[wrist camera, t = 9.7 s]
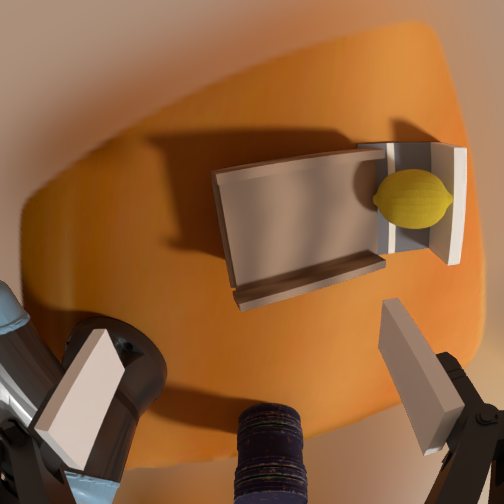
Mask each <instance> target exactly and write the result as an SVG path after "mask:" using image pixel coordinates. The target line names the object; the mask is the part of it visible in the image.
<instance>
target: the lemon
mask: <svg viewBox="0 0 504 504" xmlns="http://www.w3.org/2000/svg"><path fill="white" fill-rule="evenodd" d="M373 202H374V204H375V205H377V207H378V209H379V211H380V213H381V214H382V215H383V217H384V218H385V219H386V220H387V221H389V222H390V223H392V224H394V225H396V226H399V227H403V228H409V229H421V228H426V227H430V226H432V225H434V224H436V223H437V222H438V221H439V220H440V219H441V218H442V217H443V216H444V214H445V212H446V209H447V207H448V206H449V205H450V204H451V203H452V202H453V196H452V195H451V194H450V193H449V192H448V191H447V190H446V188H445V186H444V184H443V182H442V181H441V180H440V179H439V178H438V177H437V176H436V175H434V174H432V173H430V172H428V171H424V170H419V169H407V170H402V171H398V172H395V173H392V174H390V175H389V176H387V177H386V178H385V179H384V180H383V181H382V182H381V184H380V186H379V188H378V190H377V193H376V194H375V195H374V196H373Z"/></svg>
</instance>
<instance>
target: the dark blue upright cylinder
mask: <svg viewBox="0 0 504 504" xmlns="http://www.w3.org/2000/svg"><path fill="white" fill-rule="evenodd" d="M300 423H301V421H300V415H299V414H298V412H297V411H296V410H295V409H293V408H291V407H289V406H286V405H283V404H276V403H266V404H260V405H256V406H253V407H250V408H248V409H247V410H245V411H244V412H243V413H242V414H241V416H240V418H239V428H238V433H237V450H238V466H237V468H236V472H235V480H234V495H235V496H234V504H307V503H308V495H307V486H308V484H307V477H306V473H307V472H306V469H305V466H304V465H303V457H302V449H303V433H302V428H301V424H300Z"/></svg>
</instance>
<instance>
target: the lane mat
mask: <svg viewBox="0 0 504 504" xmlns="http://www.w3.org/2000/svg"><path fill="white" fill-rule="evenodd" d="M367 147H371V148H378V149H385V158H382V159H376V172H377V190H378V188H379V186H380V184H381V182H382V181H383V180H384V179H385V178H386V177H387V176H388V161H387V144H386V143H373V144H357V148H367ZM394 158H395V172H398V171H402V170H407V169H419V170H424V171H428V172H430V173H431V142H400V143H394ZM429 236H430V227H426V228H421V229H409V228H403V227H399V226H396V229H395V252H403V251H410V250H417V249H424V248H429ZM388 242H389V221H387V220H386V219H385V218H384V217H383V215H382V214H381V213H380V211H379V209H378V252H377V253H375V254H377V255H380V254H388Z"/></svg>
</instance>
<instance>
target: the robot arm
mask: <svg viewBox="0 0 504 504" xmlns="http://www.w3.org/2000/svg"><path fill="white" fill-rule="evenodd" d="M30 318H31V317H30V315H29V314H28V313H27V312H26V311H25V310H24V309H23V308H22V306H21V305H20V303H19V302H18V300H17V298H16V297H15V295H14V294H13V292H12V291H11V289H10V288H9V286H8V285H7V284H6V283H5V282H3V281H1V280H0V504H111V503H112V501H113V498H114V495H115V493H116V490H117V488H118V487H119V486H120V481H121V478H122V474H123V471H124V467H125V464H126V460H127V457H128V453H129V450H130V447H131V443H132V440H133V437H134V433H135V430H136V427H137V424H138V421H139V418H140V417H141V416H142V415H143V413H144V412H145V411H146V410H147V409H148V408H149V406H150V405H151V404H152V402H154V401H155V400H156V399H157V398H158V397H159V395H160V394H161V392H162V390H163V387H164V384H165V381H166V378H167V367H166V363H165V360H164V358H163V356H162V354H161V352H160V351H159V350H158V348H157V347H156V346H155V344H154V343H153V342H152V341H151V340H150V339H149V338H147V337H146V336H145V335H144V334H143V333H141V332H140V331H138V330H137V329H135V328H134V327H132V326H130V325H128V324H126V323H124V322H121V321H118V320H115V319H111V318H105V317H93V318H88V319H85V320H83V321H81V322H80V323H79V324H77V325H76V327H75V328H74V329H73V331H72V332H71V334H70V335H69V337H68V338H67V341H66V344H65V354H64V356H63V359H62V363H61V364H60V362H59V361H58V360H57V358H56V357H55V355H54V354H53V353H52V351H51V350H50V348H49V347H48V346H47V344H46V343H45V341H44V340H43V338H42V337H41V335H40V334H39V332H38V331H37V329H36V328H35V326H34V325H33V323H32V321H31V320H30ZM378 348H379V350H380V352H381V354H382V356H383V359H384V361H385V363H386V365H387V368H388V370H389V372H390V374H391V377H392V379H393V381H394V384H395V386H396V388H397V391H398V393H399V395H400V398H401V400H402V403H403V405H404V407H405V410H406V412H407V415H408V417H409V419H410V422H411V425H412V427H413V430H414V432H415V435H416V437H417V440H418V443H419V445H420V448H421V450H422V453H423V456H425V455H428V454H431V453H434V452H437V451H440V450H442V448H443V446H444V445H445V443H446V442H447V445H448V447H449V451H448V453H447V454H446V456H445V458H444V459H443V461H442V463H443V465H442V467H441V469H440V472H439V474H438V476H437V478H436V481H435V483H434V485H433V487H432V489H431V491H430V493H429V495H428V497H427V499H426V501H425V503H424V504H477V503H478V500H479V498H480V495H481V492H482V489H483V486H484V484H485V481H486V478H487V474H488V471H489V468H490V465H491V478H490V490H489V500H488V504H504V410H498V409H497V408H496V407H495V406H493V405H491V404H486V403H484V402H483V400H482V399H481V397H480V396H479V394H478V392H477V391H476V389H475V387H474V386H473V384H472V383H471V381H470V380H469V378H468V376H466V373H465V372H464V370H463V369H462V367H461V365H460V364H459V362H458V361H457V359H456V358H455V357H453V356H452V355H450V354H449V353H448V352H443V353H439V354H436V355H435V354H434V352H433V350H432V349H431V347H430V346H429V344H428V342H427V341H426V339H425V338H424V336H423V335H422V333H421V332H420V330H419V328H418V327H417V325H416V324H415V322H414V321H413V319H412V318H411V316H410V315H409V313H408V312H407V310H406V309H405V307H404V306H403V305H402V303H401V302H400V300H399V299H398V298H394V299H389V300H383V304H382V315H381V326H380V335H379V344H378ZM1 473H2V474H3V475H4V476H5V479H4V480H2V479H1Z"/></svg>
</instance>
